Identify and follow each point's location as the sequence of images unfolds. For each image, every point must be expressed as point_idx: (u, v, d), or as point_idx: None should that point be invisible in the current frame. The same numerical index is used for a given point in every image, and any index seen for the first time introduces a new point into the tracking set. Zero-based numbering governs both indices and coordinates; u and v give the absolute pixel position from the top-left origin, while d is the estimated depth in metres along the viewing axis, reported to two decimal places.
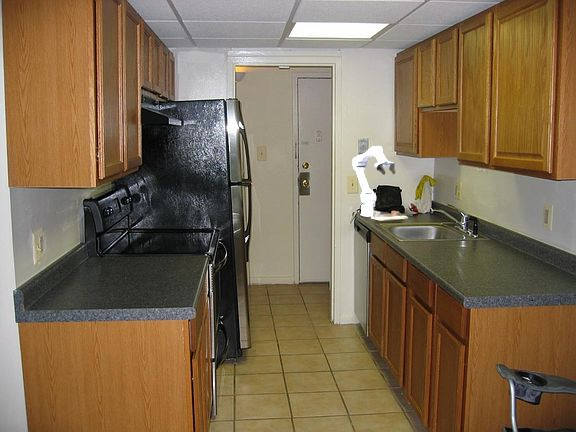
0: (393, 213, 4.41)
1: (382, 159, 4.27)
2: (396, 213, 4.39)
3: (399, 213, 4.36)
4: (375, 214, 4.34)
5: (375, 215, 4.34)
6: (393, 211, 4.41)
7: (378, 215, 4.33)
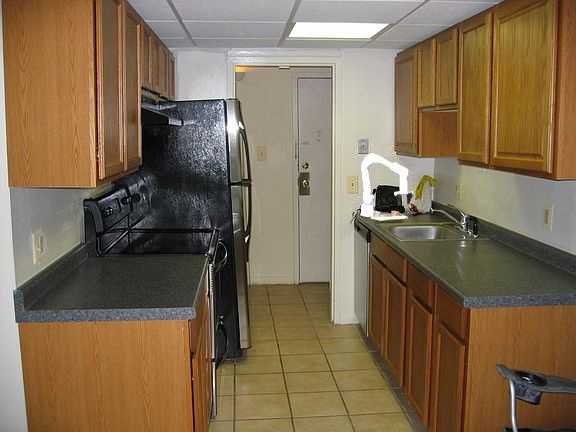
0: (393, 213, 4.41)
1: (404, 189, 4.39)
2: (396, 213, 4.39)
3: (399, 213, 4.36)
4: (375, 214, 4.34)
5: (375, 215, 4.34)
6: (393, 211, 4.41)
7: (378, 215, 4.33)
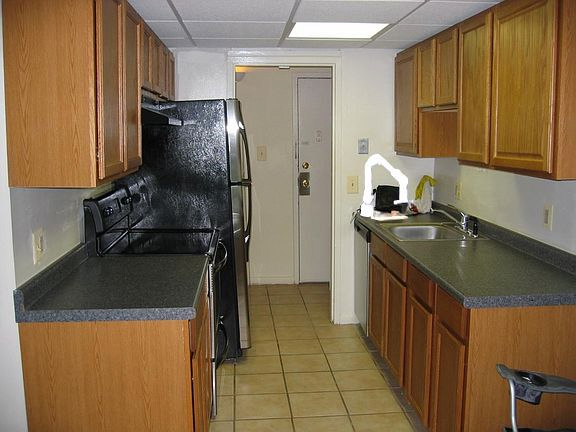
0: (393, 213, 4.41)
1: (404, 198, 4.40)
2: (396, 213, 4.39)
3: (399, 213, 4.36)
4: (375, 214, 4.34)
5: (375, 215, 4.34)
6: (393, 211, 4.41)
7: (378, 215, 4.33)
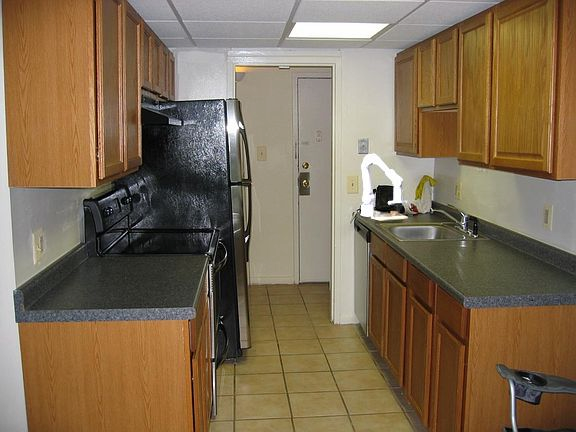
0: (392, 213, 4.41)
1: (398, 198, 4.38)
2: (395, 213, 4.39)
3: (398, 213, 4.36)
4: (375, 214, 4.34)
5: (375, 215, 4.34)
6: (392, 211, 4.41)
7: (378, 215, 4.33)
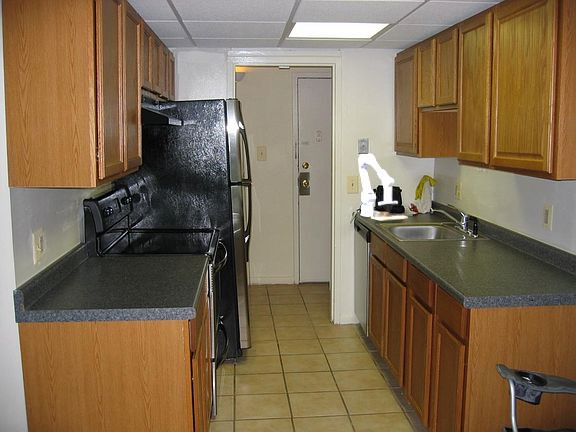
0: (382, 214, 4.37)
1: (388, 199, 4.35)
2: (385, 214, 4.36)
3: (388, 214, 4.33)
4: (375, 214, 4.34)
5: (375, 215, 4.34)
6: (382, 212, 4.38)
7: (378, 215, 4.33)
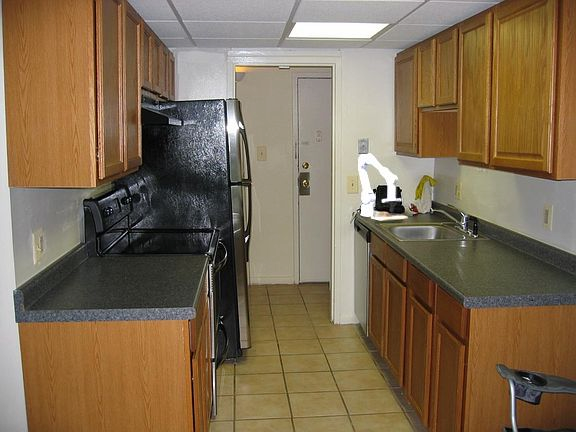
0: (382, 214, 4.37)
1: (391, 196, 4.36)
2: (385, 214, 4.36)
3: (388, 214, 4.33)
4: (375, 214, 4.34)
5: (375, 215, 4.34)
6: (382, 212, 4.38)
7: (378, 215, 4.33)
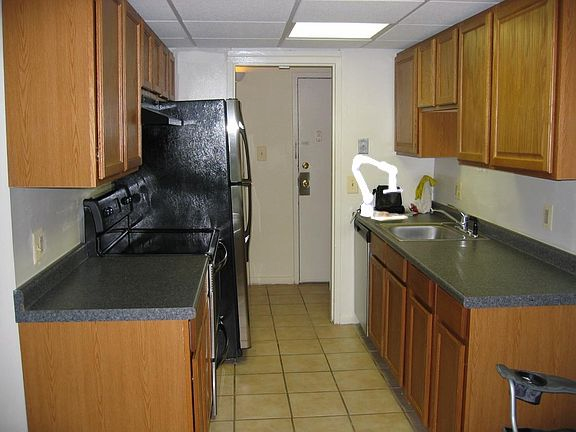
0: (382, 214, 4.37)
1: (393, 187, 4.43)
2: (385, 214, 4.36)
3: (388, 214, 4.33)
4: (375, 214, 4.34)
5: (375, 215, 4.34)
6: (382, 212, 4.38)
7: (378, 215, 4.33)
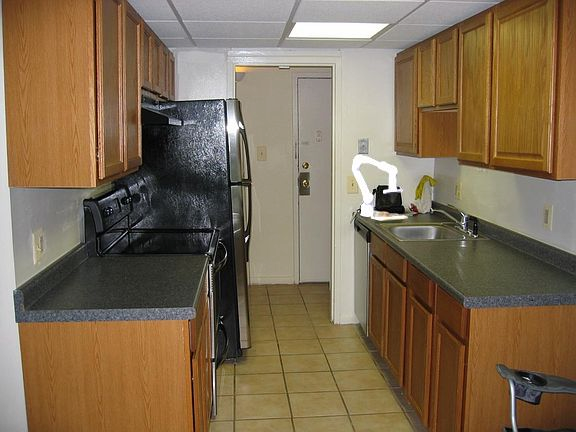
0: (382, 214, 4.37)
1: (393, 187, 4.43)
2: (385, 214, 4.36)
3: (388, 214, 4.33)
4: (375, 214, 4.34)
5: (375, 215, 4.34)
6: (382, 212, 4.38)
7: (378, 215, 4.33)
